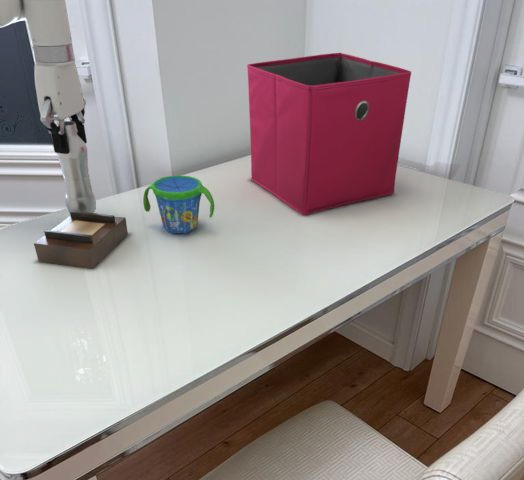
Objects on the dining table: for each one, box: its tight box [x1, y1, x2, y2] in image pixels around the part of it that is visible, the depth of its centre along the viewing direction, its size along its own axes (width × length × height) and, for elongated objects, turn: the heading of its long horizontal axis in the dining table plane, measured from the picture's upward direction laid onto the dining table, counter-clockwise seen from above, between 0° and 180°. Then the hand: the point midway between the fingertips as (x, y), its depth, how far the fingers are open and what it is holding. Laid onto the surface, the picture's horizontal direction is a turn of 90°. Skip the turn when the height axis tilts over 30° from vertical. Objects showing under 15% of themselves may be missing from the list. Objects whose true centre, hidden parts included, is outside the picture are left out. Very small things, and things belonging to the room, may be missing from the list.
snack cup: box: [142, 175, 215, 235], centre depth 120 cm, size 16×10×10 cm
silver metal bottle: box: [56, 120, 97, 213], centre depth 121 cm, size 6×7×20 cm
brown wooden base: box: [33, 211, 129, 269], centre depth 114 cm, size 12×16×6 cm
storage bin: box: [246, 52, 412, 216], centre depth 134 cm, size 28×29×28 cm
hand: (71, 147), depth 118 cm, fingers closed on silver metal bottle, 6 cm apart
